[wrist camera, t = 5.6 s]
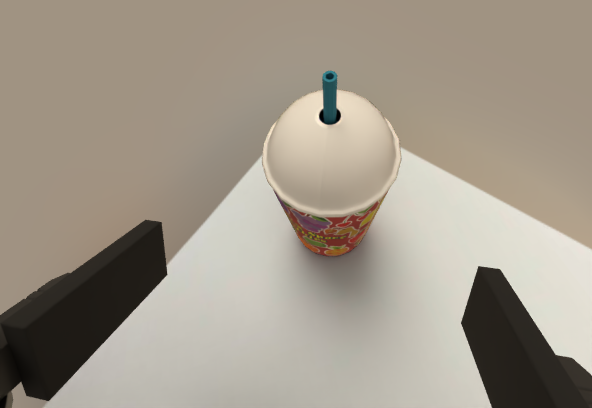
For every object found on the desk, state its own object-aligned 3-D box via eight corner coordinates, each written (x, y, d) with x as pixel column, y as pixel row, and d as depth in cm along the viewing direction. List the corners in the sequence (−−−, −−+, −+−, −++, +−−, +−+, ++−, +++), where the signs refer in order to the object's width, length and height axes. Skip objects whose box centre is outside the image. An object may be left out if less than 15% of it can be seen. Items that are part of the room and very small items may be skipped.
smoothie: (271, 235, 34) (198, 100, 15) (319, 172, 36) (307, -13, 17) (342, 286, 31) (359, 197, 13) (390, 214, 33) (464, 51, 15)
